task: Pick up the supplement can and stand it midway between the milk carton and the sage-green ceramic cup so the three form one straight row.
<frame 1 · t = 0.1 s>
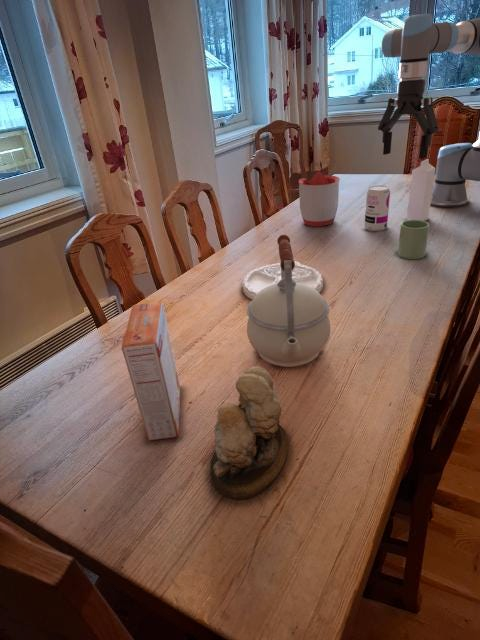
hand: (404, 155, 136), 28 cm above the table, tool pointing down, fingers open, 13 cm apart
citrus juicer: (317, 222, 174), on the table
kettle: (289, 353, 97), on the table
milk: (417, 220, 166), on the table
green cup: (411, 254, 138), on the table
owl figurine: (251, 457, 72), on the table
cracker box: (165, 414, 83), on the table
divided serving plate: (284, 283, 128), on the table
supplement can: (375, 228, 162), on the table
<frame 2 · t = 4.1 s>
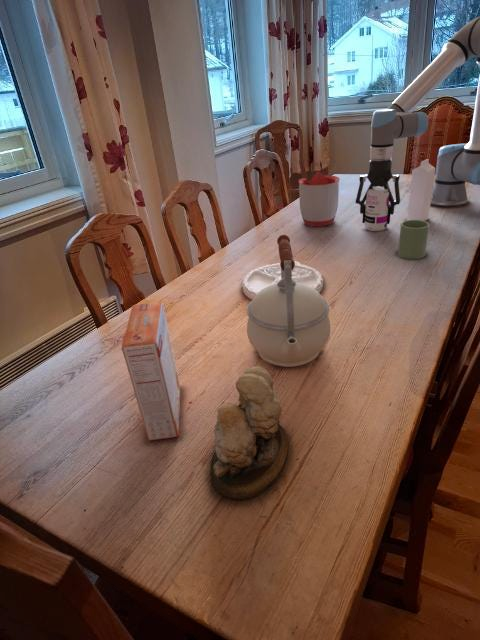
hand: (376, 222, 161), 2 cm above the table, tool pointing down, fingers closed on supplement can, 8 cm apart
supplement can: (375, 228, 162), on the table, touching gripper
everything else where it was.
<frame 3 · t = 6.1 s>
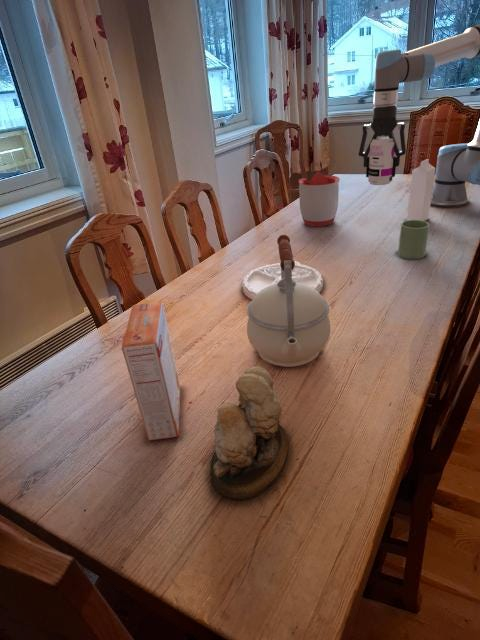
hand: (380, 176, 152), 19 cm above the table, tool pointing down, fingers closed on supplement can, 8 cm apart
supplement can: (379, 183, 154), point 17 cm above the table, touching gripper
everything else where it was.
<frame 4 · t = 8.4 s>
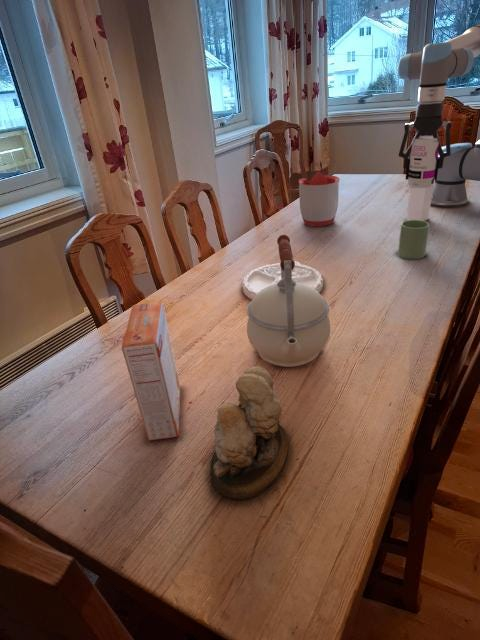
hand: (421, 178, 143), 20 cm above the table, tool pointing down, fingers closed on supplement can, 8 cm apart
supplement can: (420, 186, 144), point 17 cm above the table, touching gripper
everything else where it was.
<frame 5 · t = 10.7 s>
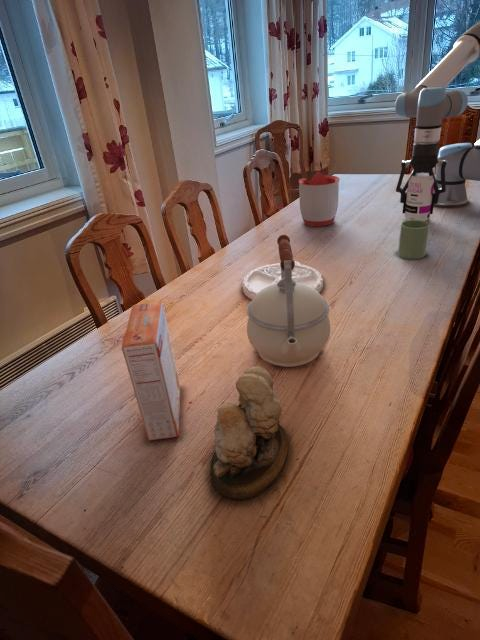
hand: (417, 212, 148), 8 cm above the table, tool pointing down, fingers closed on supplement can, 8 cm apart
supplement can: (416, 219, 149), point 6 cm above the table, touching gripper
everything else where it was.
when the fingers open (2 cm above the table, at t = 12.6 s): supplement can stays where it is, on the table.
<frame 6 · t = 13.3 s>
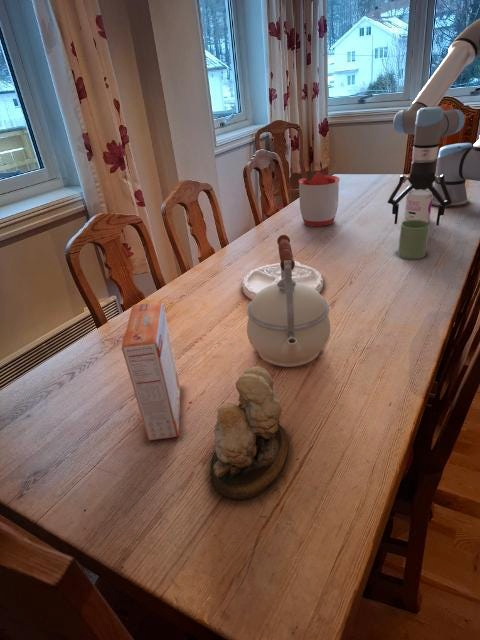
hand: (416, 223, 150), 4 cm above the table, tool pointing down, fingers open, 13 cm apart
supplement can: (414, 235, 152), on the table
everything else where it was.
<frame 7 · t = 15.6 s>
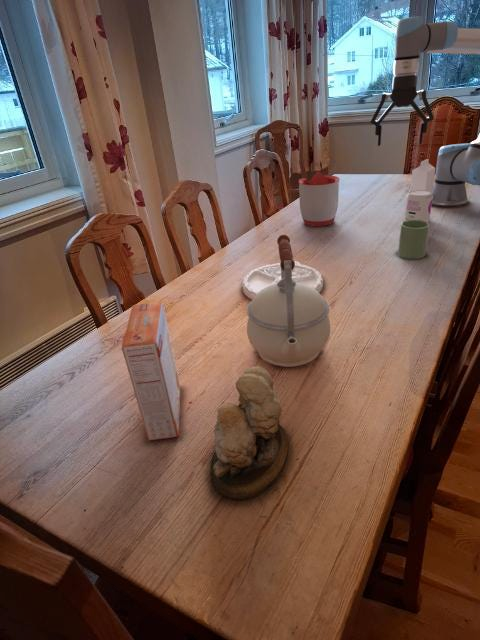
hand: (399, 144, 150), 29 cm above the table, tool pointing down, fingers open, 13 cm apart
nothing on the table moved.
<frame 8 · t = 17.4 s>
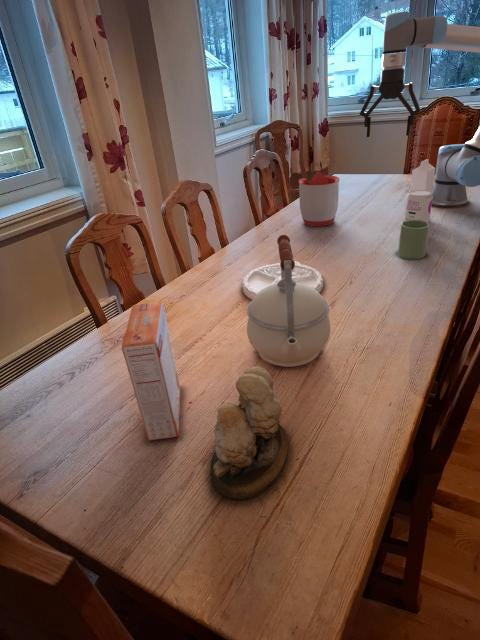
hand: (387, 135, 156), 31 cm above the table, tool pointing down, fingers open, 13 cm apart
nothing on the table moved.
at the end: supplement can 0.1 cm from the target spot on the table beside the milk, on the table; supplement can 0.1 cm from the target spot on the table beside the green cup, on the table; supplement can tilted 0° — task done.
